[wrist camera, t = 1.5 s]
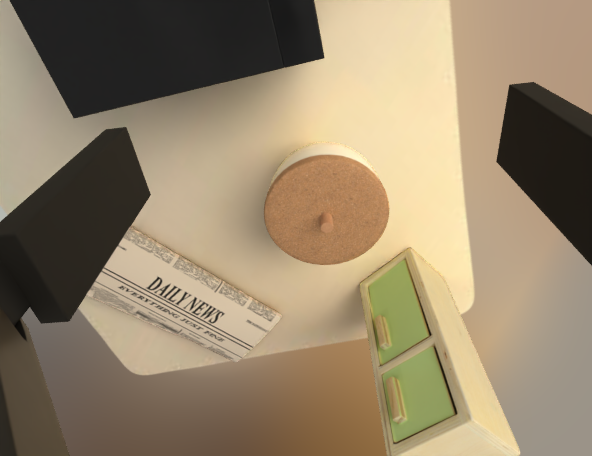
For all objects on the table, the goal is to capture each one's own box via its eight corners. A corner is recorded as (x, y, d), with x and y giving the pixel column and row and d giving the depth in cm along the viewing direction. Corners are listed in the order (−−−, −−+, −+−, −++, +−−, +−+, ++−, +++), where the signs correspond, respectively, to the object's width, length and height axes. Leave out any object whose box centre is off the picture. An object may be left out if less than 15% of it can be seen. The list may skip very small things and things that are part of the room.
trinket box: (395, 189, 42) (415, 243, 34) (307, 236, 45) (308, 294, 38) (342, 102, 37) (351, 142, 29) (249, 162, 41) (235, 211, 33)
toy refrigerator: (406, 240, 46) (469, 417, 28) (445, 276, 48) (524, 457, 31) (353, 279, 49) (379, 459, 31) (392, 310, 52) (436, 491, 34)
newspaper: (81, 285, 50) (71, 298, 48) (128, 215, 46) (120, 226, 44) (233, 363, 58) (232, 377, 55) (286, 309, 53) (287, 322, 51)
